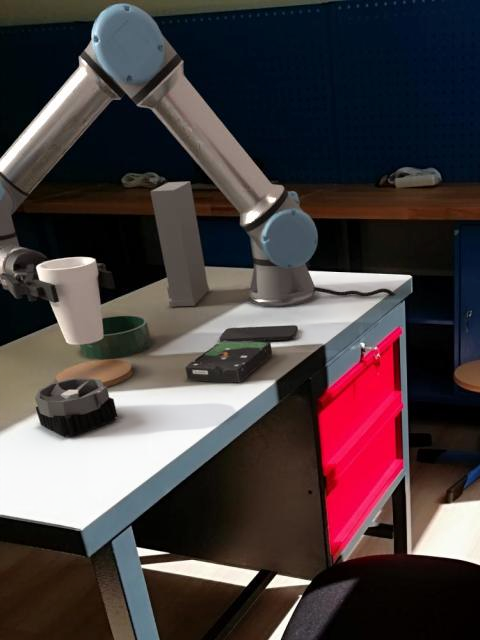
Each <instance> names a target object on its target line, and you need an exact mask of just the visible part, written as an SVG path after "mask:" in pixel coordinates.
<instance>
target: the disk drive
mask: <svg viewBox="0 0 480 640" xmlns="http://www.w3.org/2000/svg"><path fill="white" fill-rule="evenodd" d="M272 350H273V349H272V343H271V341H243V342H235V341H227V340H224V341H223V342H220V341H219V342H218V343H216V344H214V345H212V347H210V348H209V349H208V350H206V351H205V352H203V353H202V354H201V355H199V356H198V357H196V358H195V359H193V360H192V361H191V362H189V363H188V364H187V365H186V366H185V367H184V368H185V375H186V378H187V380H191V381H193V380H194V381H203V382H221V383H240V382H242V381H243V380H245V379H246V378H247V377H248V376H249V375H250V374H252V373H253V372H254V371H255V370H257V368H258V367H260V366H261V365H262V364H263V363H264V362H265V361H267V360H268V359H269V358H270V357H271V355H273V351H272Z"/></svg>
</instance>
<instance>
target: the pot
mask: <svg viewBox="0 0 480 640" xmlns="http://www.w3.org/2000/svg"><path fill="white" fill-rule="evenodd" d="M102 323H103V335H104V337H103V338H102V339H101V340H99V341H96V342H93V343H88V344H81V345H79V347H80V352H81V354H82V355H83V356H84V357H86V358H90V359H96V360H108V359H118V358H123V357H128V356H131V355H135V354H138V353H141V352H143V351H145V350H147V349H148V348H149V347H150V346H151V345H152V339H151V335H150V334H151V333H150V329H149V324H148V321H147V319H146V318H145V317H143V316H140V315H131V314H129V315H127V314H125V315H124V314H123V315H121V314H120V315H111V316H105V317H102Z"/></svg>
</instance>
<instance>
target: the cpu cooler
mask: <svg viewBox="0 0 480 640" xmlns="http://www.w3.org/2000/svg"><path fill="white" fill-rule="evenodd" d="M34 400H35V402H36V405H37V406H35V410H36V414H37V417H38V420H39V423H40V426H42V427H44V428H46V429H47V430H49V431H52V432H54V433H56V434H57V435H60V436H61V437H64V438H65V437H68V436H72V437H74V436H77V435H80V434H82V433H85V432H88V431H90V430H93V429H95V428H98V427H102V426H103V425H106V424H108V423H111V422H114V421H116V418H117V417H118V413H117V409H116V404H115V400H114V398H112V397H110V394H109V389H108V387H107V386H103V383H102V381H101V380H97V379H90V378H76V379H67V380H63V381H59V382H57V381H56V382H52V383H50V384H48V385H46V386H44V387H42V388H39V389H38V391H37V393H36V395H35V396H34Z"/></svg>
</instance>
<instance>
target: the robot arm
mask: <svg viewBox="0 0 480 640" xmlns="http://www.w3.org/2000/svg"><path fill="white" fill-rule="evenodd" d="M78 63H79V65H78V67H77V69H76V70H75V71H74V72H73V73H72V74H71V75H70V76H69V78H68V79H67V80H66V81H65V82H64V84H63V85H62V86H61V87H59V90H57V92H56V93H55V94H54V95H53V97H52V98H51V99H50V100H49V101H48V102H47V103H46V104H45V106H44V107H43V108H42V109H41V110H40V112H39V113H38V114H37V115H36V116H35V117H34V119H32V121H31V122H30V124H28V126H26V128H25V129H24V130H23V131H22V133H20V134H19V136H18V138H16V139H15V141H14V142H13V143H12V144H11V146H10V147H9V148H8V149H7V150H6V151H5V153H4V154H3V155H2V156H1V157H0V284H1V285H2V289H3V290H6V291H9V292H10V294H11V295H13V297H14V298H15V299H16V300H21V299H23V298H24V295H27V298H28V301H29V302H36V301H37V300H38V299H37V298H40V299H43V300H45V301H48V302H49V301H51V302H54V303H56V302H59V299H58V295H57V291H56V288H55V285H53V284H50V283H47V282H43V281H40V280H39V276H38V273H37V269H36V267H37V265H39V264H41V263H44V262H47V261H50V259H49V258H48V257H47V256H46V255H44V253H41V252H40V251H37V250H34V249H30V248H27V247H24V246H23V247H22V246H20V244H19V240H18V236H17V233H16V232H17V231H16V229H15V226H14V222H13V218H12V215H13V214H14V213H16V210H17V209H18V208H19V207H20V206H21V204H23V202H24V201H25V200H26V199H27V198H28V196H29V195H30V194H31V193H32V191H33V190H34V189H35V188H36V187H37V186H38V185H39V184H40V182H41V181H42V180H43V179H44V178H45V177H46V176H47V174H48V173H49V172H50V171H51V170H52V169H53V168H54V167H55V165H56V164H57V163H58V162H59V161H60V160H61V158H63V157H64V155H65V154H66V153H67V152H68V150H69V149H71V147H73V145H74V144H75V143H76V142H77V140H78V139H79V138H80V137H81V136H82V135H83V134H84V132H85V131H87V129H88V128H89V127H90V126H91V125H92V123H93V122H94V121H95V120H96V119H97V118H98V116H99V115H101V113H102V112H103V111H104V110H105V109H106V108H107V107H108V105H109V104H110V103H111V102H112V101H115V100H116V101H117V100H119V101H120V100H122V98H123V97H124V96H125V95H127V96H128V97H129V98H130V100H132V102H133V103H134V104H135V105H136V106H137V107H138V108H139V107H140V108H145V109H149V110H151V111H152V112H153V113H154V115H155V116H156V117H157V118H158V119H159V121H161V123H162V124H163V125H164V126H165V128H166V129H167V130H168V131H169V132H170V134H171V135H172V136H173V137H174V139H176V140H177V142H178V143H179V144H180V145H181V147H182V148H184V150H185V151H186V152H187V153H188V155H190V157H191V158H192V159H193V160H194V161H195V163H196V164H197V165H198V166H199V167H200V168H201V170H202V171H203V172H204V173H205V174H206V175H207V176H208V178H209V179H210V180H211V181H212V183H213V184H214V185H215V186H216V187H217V188H218V190H220V192H221V193H222V194H223V196H225V198H226V199H227V201H229V202H230V204H231V205H232V206H233V207H234V208H235V209H236V211H237V212H238V213H239V226H240V227H241V228H242V229H243V230H244V231H245V232H246V234H247V235H248V236H249V239H250V246H251V247H250V248H251V255H252V261H253V271H252V275H251V282H250V287H249V300H250V302H251V303H252V304H254V305H257V306H261V307H272V308H275V307H277V308H278V307H288V306H295V305H300V304H304V303H308V302H310V301H311V300H313V299H315V298H316V296H317V293H316V292H318V293H325V294H330V295H334V296H340V297H343V296H349V295H350V296H351V295H353V296H354V295H355V296H359V297H362V298H363V297H364V298H365V297H366V298H367V297H372V296H375V295H378V294H382V293H384V294H385V293H386V294H388V295H390V296H392V297H393V296H396V294H395V292H393V290H391V289H389V288H384V287H383V288H378V289H375V290H372V291H368V292H364V291H363V292H362V291H359V290H345V291H337V290H333V289H329V288H323V287H317V286H315V283H314V280H313V279H312V276H311V274H310V271H309V269H308V267H307V264H306V263H307V262H308V261H310V259H312V257H313V255H314V254H315V252H316V249H317V247H318V243H319V235H318V229H317V227H316V223H315V222H314V220H313V219H312V217H311V216H310V215H309V214H308V213H306V212H305V211H304V210H303V209H302V208H301V207H300V205H301V202H300V199H299V195H298V193H297V192H296V191H293V190H292V191H287V189H286V188H285V187H284V186H283V185H282V184H273V183H271V182H270V180H269V179H268V178H267V176H266V175H265V174H264V173H263V171H262V170H261V169H260V168H259V166H257V164H256V163H255V162H254V160H253V158H252V157H250V156H249V154H248V153H247V151H245V149H244V148H243V147H242V146H241V144H240V143H239V142H238V141H237V140H236V138H235V137H234V136H233V134H232V133H231V132H230V131H229V129H228V128H227V127H226V126H225V124H224V123H223V122H222V120H221V119H220V118H219V117H218V116H217V115H216V113H215V112H214V111H213V109H212V108H211V107H210V106H209V104H208V103H207V102H206V101H205V100H204V98H203V97H202V96H201V95H200V93H199V92H198V91H197V90H196V89H195V87H194V86H193V85H192V83H191V82H190V81H189V80H188V79H187V77H186V76H185V72H184V60H183V59H182V58H181V56H180V55H179V54H178V53H177V52H176V50H175V48H174V47H172V45H171V44H170V43H169V41H168V40H167V39H166V37H165V36H164V35H163V33H162V31H161V30H160V27H159V25H158V23H157V22H156V21H155V20H154V18H153V17H152V16H151V15H150V14H149V13H147V12H146V11H145V10H143V9H141V8H140V7H138V6H136V5H133V4H129V3H116V4H113V5H109V6H107V7H106V8H105V9H104V10H103V11H102V10H101V12H100V14H99V15H98V17H97V18H95V20H94V23H93V26H92V28H91V39H90V42H89V43H88V45H87V47H86V48H85V49H84V50H83V51H82V52H81V54H80V55H79V56H78ZM96 264H97V269H98V273H99V274H98V284H99V287H103V288H106V289H109V290H113V289H116V285H115V281H114V276H113V271H110V270H107V267H106V264H105V263H98V262H97V261H96Z"/></svg>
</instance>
